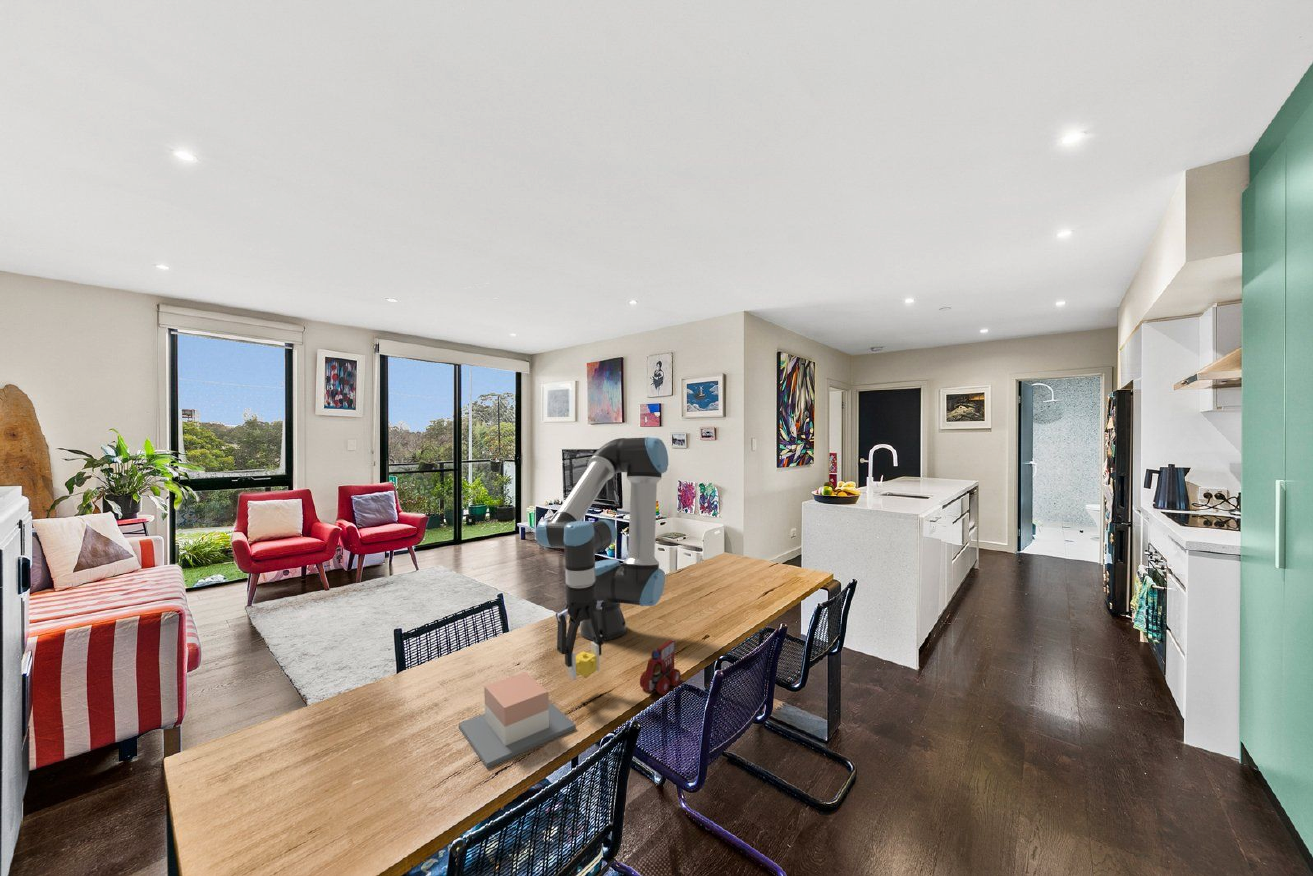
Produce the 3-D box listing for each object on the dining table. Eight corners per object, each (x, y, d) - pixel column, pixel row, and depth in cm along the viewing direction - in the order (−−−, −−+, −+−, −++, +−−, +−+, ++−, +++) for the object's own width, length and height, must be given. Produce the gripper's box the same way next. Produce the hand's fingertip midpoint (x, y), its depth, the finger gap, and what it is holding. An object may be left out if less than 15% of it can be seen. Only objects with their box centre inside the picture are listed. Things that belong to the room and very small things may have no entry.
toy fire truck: (635, 693, 126) (634, 652, 125) (663, 673, 136) (662, 635, 135) (657, 701, 121) (656, 659, 121) (684, 680, 132) (683, 641, 131)
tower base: (540, 696, 125) (539, 661, 125) (575, 729, 111) (574, 689, 111) (458, 727, 112) (457, 688, 112) (486, 768, 98) (485, 723, 98)
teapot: (563, 675, 126) (562, 655, 126) (578, 665, 131) (578, 646, 130) (587, 683, 122) (586, 663, 121) (602, 673, 126) (601, 653, 126)
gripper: (604, 572, 134) (607, 655, 135) (539, 588, 122) (543, 680, 123) (620, 578, 128) (623, 666, 129) (553, 596, 117) (557, 692, 117)
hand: (584, 672), depth 126 cm, fingers closed on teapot, 6 cm apart
